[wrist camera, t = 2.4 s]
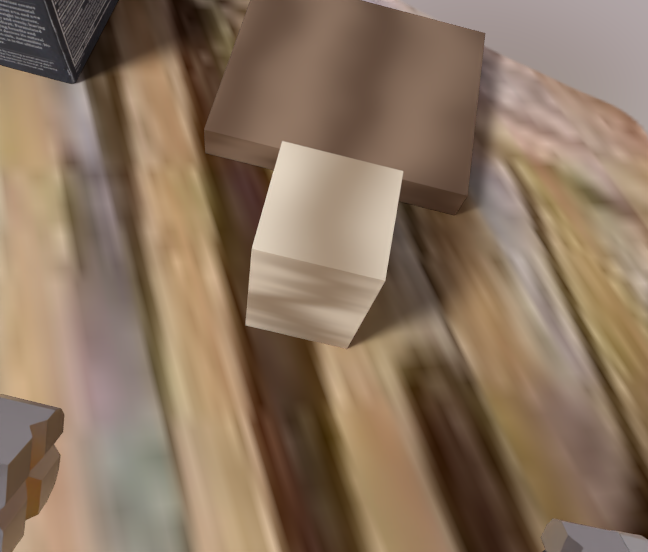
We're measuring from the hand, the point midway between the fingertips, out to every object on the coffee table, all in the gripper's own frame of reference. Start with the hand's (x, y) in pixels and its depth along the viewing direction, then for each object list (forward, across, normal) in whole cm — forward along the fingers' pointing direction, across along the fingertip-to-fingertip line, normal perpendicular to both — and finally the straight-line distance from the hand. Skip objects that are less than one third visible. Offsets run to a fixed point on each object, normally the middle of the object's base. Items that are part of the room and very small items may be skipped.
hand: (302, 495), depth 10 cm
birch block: (+20, 0, +4) cm, 21 cm away
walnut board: (+29, 0, -5) cm, 29 cm away
